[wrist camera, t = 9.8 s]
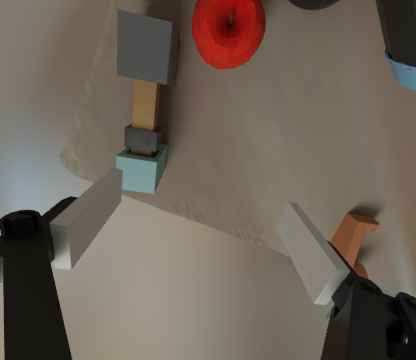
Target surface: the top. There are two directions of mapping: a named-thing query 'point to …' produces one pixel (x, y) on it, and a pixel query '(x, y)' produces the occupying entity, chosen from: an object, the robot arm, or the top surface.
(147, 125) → the collared tan post
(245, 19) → the apple
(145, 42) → the sleeve
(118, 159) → the socket block
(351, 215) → the crank
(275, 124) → the top surface
